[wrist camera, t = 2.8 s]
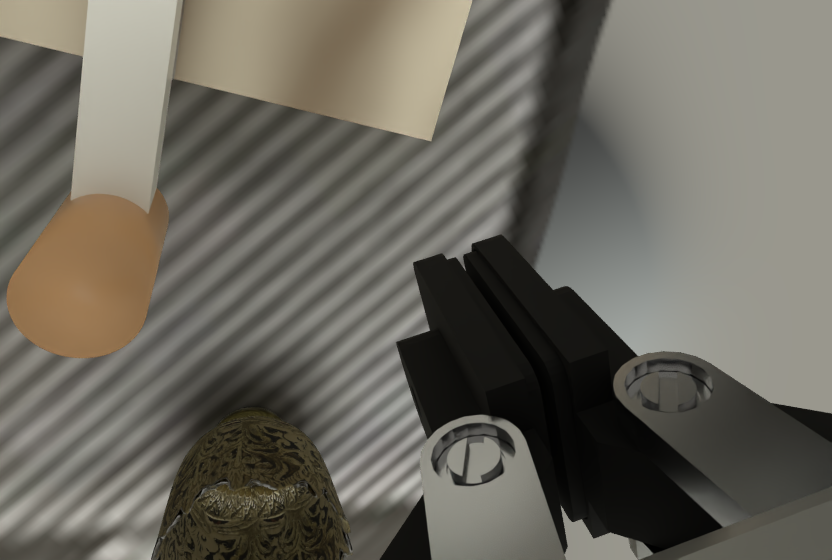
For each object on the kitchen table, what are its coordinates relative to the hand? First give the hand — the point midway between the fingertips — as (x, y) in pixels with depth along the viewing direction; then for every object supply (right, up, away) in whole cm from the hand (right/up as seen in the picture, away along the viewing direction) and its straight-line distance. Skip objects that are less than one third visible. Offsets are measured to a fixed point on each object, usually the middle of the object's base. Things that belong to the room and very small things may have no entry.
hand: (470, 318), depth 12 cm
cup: (-9, -7, +20) cm, 23 cm away
